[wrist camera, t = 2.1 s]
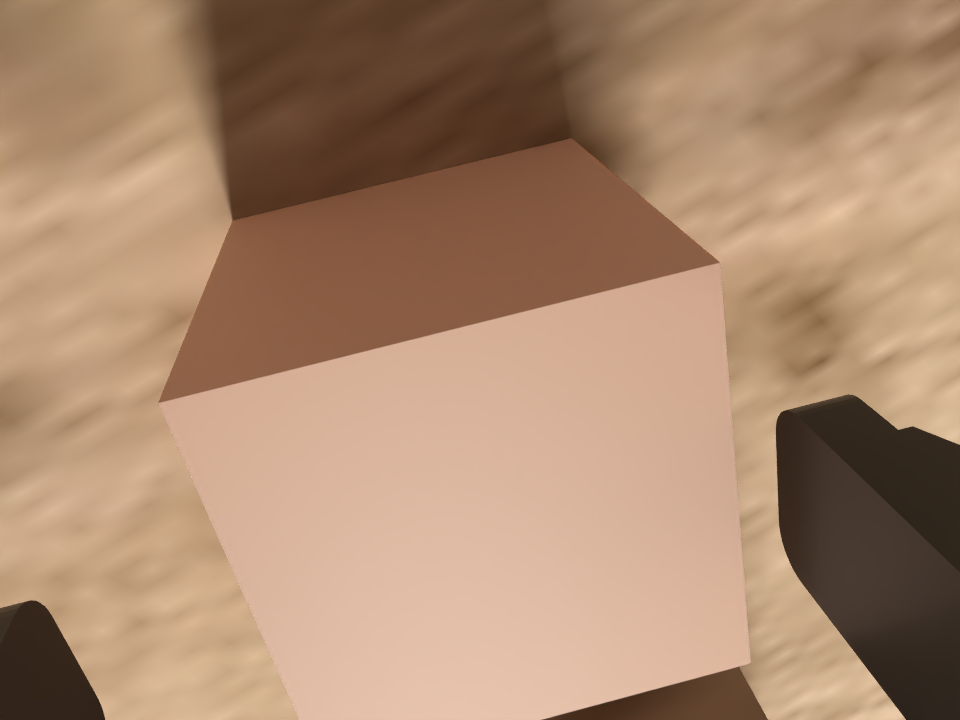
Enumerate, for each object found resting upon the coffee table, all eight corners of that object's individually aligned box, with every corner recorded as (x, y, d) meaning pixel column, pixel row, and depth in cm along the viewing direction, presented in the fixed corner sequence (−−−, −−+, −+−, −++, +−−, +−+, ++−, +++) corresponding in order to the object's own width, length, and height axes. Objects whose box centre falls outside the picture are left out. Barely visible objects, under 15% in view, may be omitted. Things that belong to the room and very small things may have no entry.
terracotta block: (570, 137, 13) (719, 263, 8) (614, 423, 16) (751, 663, 11) (233, 220, 13) (157, 403, 8) (331, 496, 16) (325, 778, 10)
